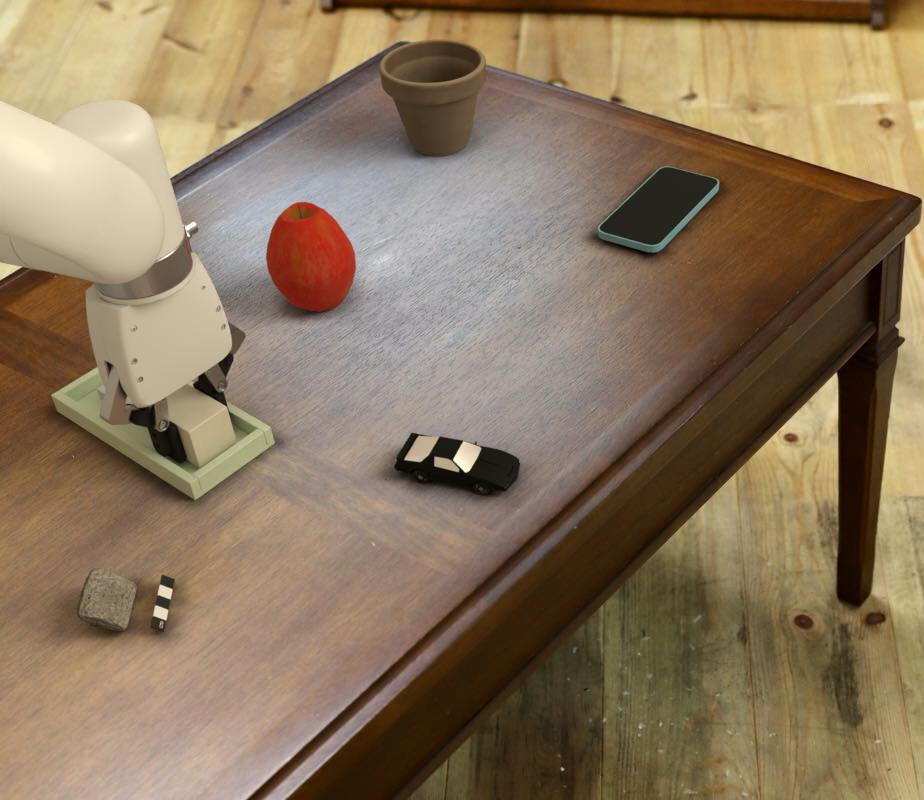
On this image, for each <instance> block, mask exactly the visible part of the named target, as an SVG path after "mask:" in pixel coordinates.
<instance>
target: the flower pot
mask: <svg viewBox="0 0 924 800" xmlns="http://www.w3.org/2000/svg"><path fill="white" fill-rule="evenodd" d="M378 69H379V74H380V81H381V87H382V89H383V91H384V93H386V94H387V95H388V96H389V97H391V98H392V100H393V103H394V105H395V107H396V110H397V112H398V115H399V118H400V120H401V123H402V126H403V128H404V130H405V133H406V135H407V137H408V140H409V142H410V144H411V146H412V147H413V149H414V150H415V151H417V152H419V153H420V154H422V155H427V156H435V157H438V156H439V157H440V156H441V157H442V156H449V155H452V154H455V153H458V152H459V151H462V150H463V149H464V148H466V147H467V146H468V144H469V142H470V139H471V134H472V130H473V125H474V120H475V114H476V106H477V100H478V94H479V91H481V89H482V88H483V86H484V85H485V83H486V79H487V60H486V56H485V54H484V53H483V52H482V50H480V49H479V48H478V47H476V46H474V45H472V44H469V43H467V42H463V41H459V40H454V39H441V38H440V39H435V38H434V39H424V40H418V41H413V42H410V43H405V44H403V45H401V46H398V47H395V48H394V49H393V50H390V51H389V52H388V53H386V54H384V56H383V57H382V58H381V60H380V61H379V68H378Z"/></svg>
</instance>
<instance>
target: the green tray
mask: <svg viewBox="0 0 924 800" xmlns="http://www.w3.org/2000/svg"><path fill="white" fill-rule="evenodd" d="M193 383H195V382H194V381H193V380H192V381H190V382H189V383H187V384H189V385H190V386H192V387H194V386H193ZM102 385H104V384H103V382H102V379H101V377H100V374H99V370H98V367H97V366H96V367H94V368H93V369H92V370H90V371H88V372H87V373H84V374H83V375H81V376H80V377H78V378H77V379H75V380H73V381H72V382H70V383H69V384H66V385H65V386H64V387H62V388H60V389H59V390H57V391H55V392H54V393H52V394H50V396H51V398H52V399H51V400H52V401H53V405H54V407H55V409H56V412H57V413H59V414H61V415H62V416H63V417H65V418H67V419H68V420H70V421H71V422H72V423H74V424H76V425H77V426H79V427H81V428H82V429H84V430H86V431H87V432H88V433H90V434H92V435H93V436H94V437H96V438H97V439H99V440H101V441H102V442H104V443H105V444H107V445H108V446H110V447H112V448H113V449H115V450H116V451H117V452H119V453H120V454H123V455H124V456H125V457H127V458H129V459H130V460H132V461H134V462H135V463H137V464H138V465H140V467H141V466H142V467H143V468H144V469H145V470H147V471H149V472H151V473H152V474H154V475H155V476H157V477H158V478H160V479H161V480H163V481H164V482H166V483H167V484H169V485H171V486H172V487H174V488H175V489H176V490H178V491H180V492H181V493H183V494H185V495H186V496H188V497H189V498H191V499H192V500H194V501H196V500H198V499H199V498H200V497H202V496H203V495H205V494H206V493H207V492H209V491H211V490H212V489H213V488H215V487H216V486H218V485H219V484H220V483H222V482H223V481H225V480H226V479H227V478H229V477H230V476H231V475H234V473H235V472H237V471H238V470H240V469H242V468H243V467H244V466H245V465H247V464H248V463H250V462H251V461H252V460H254V459H256V457H258V456H259V455H261V454H262V453H264V452H265V451H267V449H269V448H270V447H272V446H273V445H275V444H276V441H275V439H274V435H273V431H272V427H271V426H270V425H268V424H266V423H265V422H263V421H261V420H260V419H258V418H256V417H254V416H252V414H249V413H247V412H246V411H244V410H242V409H240V408H239V407H238V406H236V405H234V404H232V403H230V402H228V401H227V400H226V402H227V406H228V409H229V416H230V420H231V423H232V427H233V430H234V434H235V438H236V441H237V442H236V443H235V444H234V445H232V446H231V447H229V448H228V449H227V450H225V451H224V452H222V453H221V454H219V455H218V456H217V457H215V458H214V459H212V460H211V461H209V462H208V463H207V464H205V465H204V466H202V467H201V468H199V467H197V466H196V465H194V464H193V463H191V462H189V461H188V460H186V461H184V462H183V463H181V464H180V463H178V462H176V461H175V460H173V459H172V458H170V457H169V456H165V457H164V456H162V455H160V454H159V453H158V452H157V451H156V450H155V448H154V446H153V443H152V440H151V437H150V434H149V431H148V428H147V427H143V426H138V425H135V424H127V425H110V424H109V423H107V422H106V421H104V420H102V419H101V418H100V416H99V415H100V410H101V406H102V402H103V398H102V397H101V396H99V394H98V392H97V388H99V387H100V386H102Z"/></svg>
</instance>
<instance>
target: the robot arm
mask: <svg viewBox="0 0 924 800" xmlns="http://www.w3.org/2000/svg"><path fill="white" fill-rule="evenodd" d="M198 233H199V226H198V225H197V223H196V221H195V220H194V219H193V218H191V217H187V218H185V219H183V220H182V217H181V212H180V209H179V205H178V202H177V198H176V194H175V191H174V187H173V183H172V181H171V176H170V173H169V169H168V165H167V162H166V158H165V155H164V151H163V148H162V144H161V141H160V137H159V133H158V130H157V127H156V124H155V121H154V120H153V118H152V116H151V115H150V114H149V112H148V111H147V110H145V109H144V108H143V107H142V106H140V105H138V104H136V103H134V102H131V101H128V100H123V99H113V98H112V99H100V100H92V101H89V102H85V103H81V104H79V105H76V106H74V107H72V108H69V109H68V110H66V111H64V112H62V113H61V114H60V115H59V116H57V118H56V119H54V121H53V123H52V122H50V121H48V120H45V119H43V118H41V117H38V116H36V115H34V114H31V113H29V112H27V111H25V110H22V109H20V108H18V107H16V106H14V105H12V104H9V103H7V102H4V101H2V100H0V263H1V264H5V265H10V266H15V267H21V268H26V269H30V270H35V271H44V272H48V273H53V274H57V275H62V276H67V277H71V278H77V279H80V280H81V279H82V280H85V281H89V282H92V285H91V286H89V287H88V288H86V290H85V307H86V308H85V310H86V320H87V326H88V333H89V337H90V342H91V347H92V351H93V355H94V360H95V363H96V367H98V370H99V374H100V377H101V379H102V382H103V384H104V386H105V388H106V390H105V394H104V398H103V402H102V406H101V410H100V415H99V416H100V418H101V419H102V420H104V421H106V422H107V423H109V424H110V425H127V424H135V425H138V426H143V427H147V428H148V431H149V434H150V437H151V440H152V443H153V446H154V448H155V450H156V451H157V452H158V453H159V454H160V455H162V456H164V457H165V456H169V457H170V458H172V459H173V460H175V461H176V462H178V463H180V464H181V463H183V462H184V461H186V458H187V456H186V453H185V450H184V447H183V444H182V440H181V437H180V434H179V431H178V428H177V426H176V425H175V424H174V423H173V422H171V421H169V413H168V403H167V396H168V395H170V394H172V393H173V392H175V391H176V390H178V389H179V388H181V387H182V386H184V385H186V384H187V383H189V382H190V381H192V382H193V381H194V380H195V379H196V381H195V382H194V383H193V386H194V388H195V389H197V390H199V391H201V392H202V393H204V394H206V395H207V396H209V397H211V398H213V399H214V400H216V401H218V402H220V403H221V404H223V405H225V406H226V407H227V409H228V406H227V402H228V401H227V399H226V395H225V391H226V390H227V388H228V386H229V382H228V380H227V376H228V374H229V372H230V369H231V367H232V365H233V363H234V359H235V358H234V355H237V352H238V351H239V350H240V348H241V346H242V345H243V343H244V341H245V340H246V336H247V335H246V332H245V331H243V330H242V329H240V328H239V327H238V326H235V325H234V324H233V323H231V322H229V321H228V319H227V315H226V312H225V309H224V306H223V304H222V301H221V299H220V296H219V294H218V292H217V289H216V286H215V285H214V282H213V281H212V278H211V276H210V274H209V273H208V271H207V269H206V268H205V266H204V264H203V263H202V261H201V259H200V258H199V256H198V255H197V254H196V252H194V251H193V249H192V246H191V243H190V240H191V239H192V238H193V236H194V235H195V234H198ZM127 396H128V397H129V398H131V400H132V402H133V404H134V405H133V404H126V405H125V403H126V399H127ZM226 401H227V402H226ZM228 413H229V409H228Z"/></svg>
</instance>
